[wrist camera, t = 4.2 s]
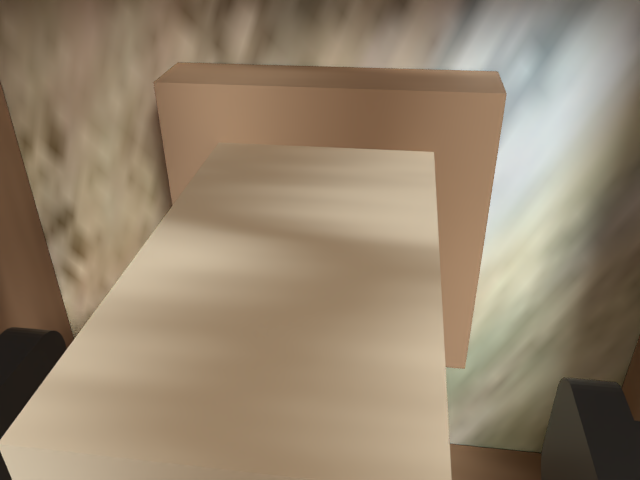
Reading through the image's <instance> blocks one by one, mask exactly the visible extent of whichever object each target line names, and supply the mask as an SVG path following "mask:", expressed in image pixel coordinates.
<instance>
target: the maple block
mask: <svg viewBox="0 0 640 480" xmlns="http://www.w3.org/2000/svg"><path fill="white" fill-rule="evenodd" d="M0 452H1V454H2V457H3V459H4V461H5V464H6V466H7V469H8V471H9V473H10V476H11V478H12V480H452V477H451V459H450V440H449V422H448V403H447V384H446V366H445V347H444V329H443V310H442V291H441V273H440V254H439V236H438V217H437V198H436V180H435V161H434V152H423V151H400V150H378V149H355V148H332V147H310V146H287V145H265V144H242V143H220V142H219V143H218V144H217V146H216V147H215V148H214V150H213V151H212V152H211V154H210V155H209V157H208V158H207V159H206V161H205V162H204V163H203V165H202V166H201V167H200V169H199V170H198V172H197V173H196V174H195V176H194V177H193V178H192V180H191V181H190V182H189V184H188V185H187V186H186V188H185V189H184V191H183V192H182V193H181V195H180V196H179V197H178V199H177V200H176V201H175V203H174V204H173V206H172V207H171V208H170V210H169V211H168V212H167V214H166V215H165V216H164V218H163V219H162V220H161V222H160V223H159V225H158V226H157V227H156V229H155V230H154V231H153V233H152V234H151V235H150V237H149V238H148V240H147V241H146V242H145V244H144V245H143V246H142V248H141V249H140V250H139V252H138V253H137V254H136V256H135V257H134V259H133V260H132V261H131V263H130V264H129V265H128V267H127V268H126V269H125V271H124V272H123V274H122V275H121V276H120V278H119V279H118V280H117V282H116V283H115V284H114V286H113V287H112V289H111V290H110V291H109V293H108V294H107V295H106V297H105V298H104V299H103V301H102V302H101V303H100V305H99V306H98V308H97V309H96V310H95V312H94V313H93V314H92V316H91V317H90V318H89V320H88V321H87V323H86V324H85V325H84V327H83V328H82V329H81V331H80V332H79V333H78V335H77V336H76V337H75V339H74V340H73V342H72V343H71V344H70V346H69V347H68V348H67V350H66V351H65V352H64V354H63V355H62V357H61V358H60V359H59V361H58V362H57V363H56V365H55V366H54V367H53V369H52V370H51V371H50V373H49V374H48V376H47V377H46V378H45V380H44V381H43V382H42V384H41V385H40V386H39V388H38V389H37V391H36V392H35V393H34V395H33V396H32V397H31V399H30V400H29V401H28V403H27V404H26V405H25V407H24V408H23V410H22V411H21V412H20V414H19V415H18V416H17V418H16V419H15V420H14V422H13V423H12V425H11V426H10V427H9V429H8V430H7V431H6V433H5V434H4V435H3V437H2V438H1V439H0Z"/></svg>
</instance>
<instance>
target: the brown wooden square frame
mask: <svg viewBox="0 0 640 480" xmlns="http://www.w3.org/2000/svg"><path fill="white" fill-rule="evenodd" d="M154 89H155V95H156V102H157V108H158V115H159V121H160V128H161V134H162V141H163V147H164V154H165V160H166V167H167V173H168V180H169V186H170V193H171V199H172V206H173V204H174V203H175V201H176V200H177V199H178V197H179V196H180V195H181V193H182V192H183V191H184V189H185V188H186V186H187V185H188V184H189V182H190V181H191V180H192V178H193V177H194V176H195V174H196V173H197V172H198V170H199V169H200V167H201V166H202V165H203V163H204V162H205V161H206V159H207V158H208V157H209V155H210V154H211V152H212V151H213V150H214V148H215V147H216V146H217V144H218V143H219V142H220V143H242V144H265V145H287V146H310V147H332V148H355V149H378V150H400V151H423V152H434V161H435V180H436V198H437V217H438V236H439V254H440V273H441V291H442V310H443V329H444V347H445V366H446V367H451V368H463V369H465V363H466V357H467V350H468V344H469V337H470V331H471V324H472V317H473V311H474V304H475V298H476V291H477V285H478V278H479V271H480V265H481V258H482V252H483V245H484V239H485V232H486V225H487V219H488V212H489V206H490V199H491V192H492V186H493V179H494V173H495V166H496V160H497V153H498V146H499V140H500V133H501V127H502V120H503V114H504V107H505V100H506V91H505V89H504V86H503V83H502V81H501V78H500V76H499V73H498V72H497V71H461V70H425V69H390V68H354V67H318V66H282V65H246V64H211V63H177V64H176V65H175V66H173V67H172V68H171V69H170V70H168V71H167V72H166V73H164V74H163V75H162V76H161V77H159V78H158V79H157V80H156V81H154ZM11 327H20V328H32V329H43V330H54V331H57V332H59V333H60V334H61V335H62V336H63V338H64V341H65V344H66V348H68V347H69V346H70V344H71V343H72V342H73V340H74V338H73V335H72V331H71V328H70V324H69V321H68V317H67V314H66V310H65V307H64V303H63V300H62V296H61V293H60V289H59V286H58V282H57V279H56V275H55V272H54V268H53V265H52V261H51V258H50V254H49V251H48V247H47V244H46V240H45V237H44V233H43V230H42V226H41V223H40V219H39V216H38V213H37V209H36V206H35V202H34V199H33V195H32V192H31V188H30V185H29V181H28V178H27V174H26V171H25V167H24V164H23V160H22V157H21V153H20V150H19V146H18V143H17V139H16V136H15V132H14V129H13V125H12V122H11V118H10V115H9V111H8V108H7V104H6V101H5V97H4V94H3V90H2V87H1V83H0V334H1V333H2V332H3V331H5V330H6V329H8V328H11ZM622 390H623V393H624V395H625V398H626V400H627V403H628V405H629V408H630V411H631V413H632V416H633V418H634V420H636V421H640V336H639V339H638V342H637V345H636V348H635V351H634V353H633V356H632V359H631V362H630V365H629V368H628V371H627V374H626V377H625V380H624V383H623V386H622ZM541 454H542V453H533V452H523V451H513V450H503V449H494V448H484V447H474V446H464V445H455V444H450V459H451V477H452V480H541Z"/></svg>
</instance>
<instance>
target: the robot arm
mask: <svg viewBox="0 0 640 480" xmlns="http://www.w3.org/2000/svg"><path fill="white" fill-rule="evenodd" d="M66 350H67V348H66V344H65V341H64V338H63V336H62V335H61V334H60V333H59V332H57V331H54V330H43V329H32V328H20V327H11V328H8V329H6V330H5V331H3V332H2V333H1V334H0V439H1V438H2V437H3V435H4V434H5V433H6V431H7V430H8V429H9V427H10V426H11V425H12V423H13V422H14V420H15V419H16V418H17V416H18V415H19V414H20V412H21V411H22V410H23V408H24V407H25V405H26V404H27V403H28V401H29V400H30V399H31V397H32V396H33V395H34V393H35V392H36V391H37V389H38V388H39V386H40V385H41V384H42V382H43V381H44V380H45V378H46V377H47V376H48V374H49V373H50V371H51V370H52V369H53V367H54V366H55V365H56V363H57V362H58V361H59V359H60V358H61V357H62V355H63V354H64V352H65V351H66ZM0 480H12V478H11V476H10V473H9V471H8V469H7V466H6V464H5V461H4V459H3V457H2V454H1V452H0ZM541 480H640V421H636V420H634V418H633V416H632V413H631V411H630V408H629V405H628V403H627V400H626V398H625V395H624V393H623V390H622V388H621V387H620V385H619V384H618V383H616V382H608V381H597V380H586V379H575V378H562V379H561V381H560V383H559V385H558V389H557V392H556V396H555V400H554V404H553V408H552V412H551V416H550V419H549V423H548V427H547V431H546V435H545V439H544V443H543V447H542V454H541Z"/></svg>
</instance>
